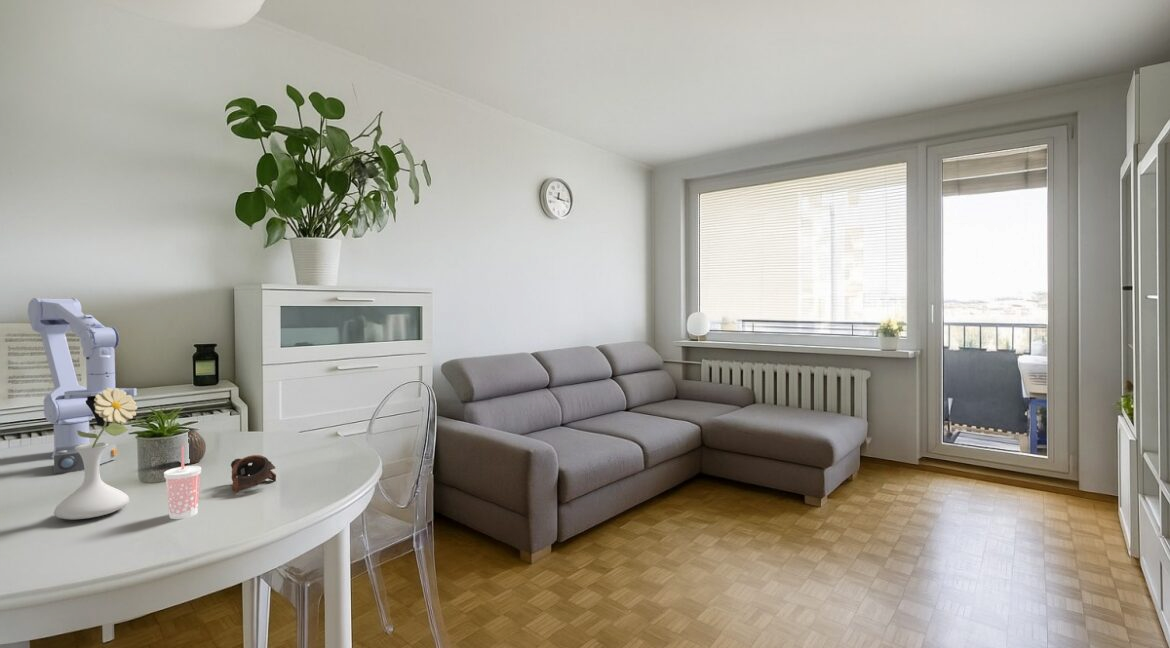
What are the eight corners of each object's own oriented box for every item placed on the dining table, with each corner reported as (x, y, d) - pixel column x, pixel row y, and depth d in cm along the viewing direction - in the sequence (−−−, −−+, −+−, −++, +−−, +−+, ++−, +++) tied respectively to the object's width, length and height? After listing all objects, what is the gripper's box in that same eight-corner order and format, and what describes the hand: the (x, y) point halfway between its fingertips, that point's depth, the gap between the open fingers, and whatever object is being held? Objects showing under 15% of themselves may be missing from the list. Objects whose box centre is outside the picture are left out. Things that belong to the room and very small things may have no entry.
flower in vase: (65, 530, 104) (62, 396, 103) (45, 517, 110) (41, 390, 109) (149, 508, 115) (146, 387, 114) (126, 497, 121) (123, 382, 120)
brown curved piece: (289, 483, 133) (282, 458, 128) (255, 512, 125) (246, 487, 121) (250, 466, 136) (242, 441, 132) (215, 493, 128) (205, 468, 124)
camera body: (57, 464, 144) (56, 445, 144) (88, 460, 148) (87, 441, 148) (54, 475, 136) (53, 454, 135) (87, 470, 140) (86, 450, 139)
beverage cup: (180, 508, 115) (179, 441, 114) (209, 509, 114) (208, 441, 114) (156, 520, 108) (155, 449, 108) (187, 520, 108) (186, 449, 108)
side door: (113, 458, 149) (112, 444, 149) (118, 458, 149) (118, 443, 149) (88, 467, 141) (88, 452, 141) (94, 467, 141) (94, 452, 141)
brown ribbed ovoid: (212, 459, 150) (211, 426, 150) (191, 466, 144) (191, 432, 143) (188, 458, 151) (188, 426, 151) (167, 465, 144) (166, 431, 144)
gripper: (57, 376, 140) (59, 430, 140) (129, 374, 145) (130, 425, 146) (71, 373, 146) (72, 424, 147) (139, 370, 152) (140, 420, 153)
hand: (102, 424), depth 147 cm, fingers closed
